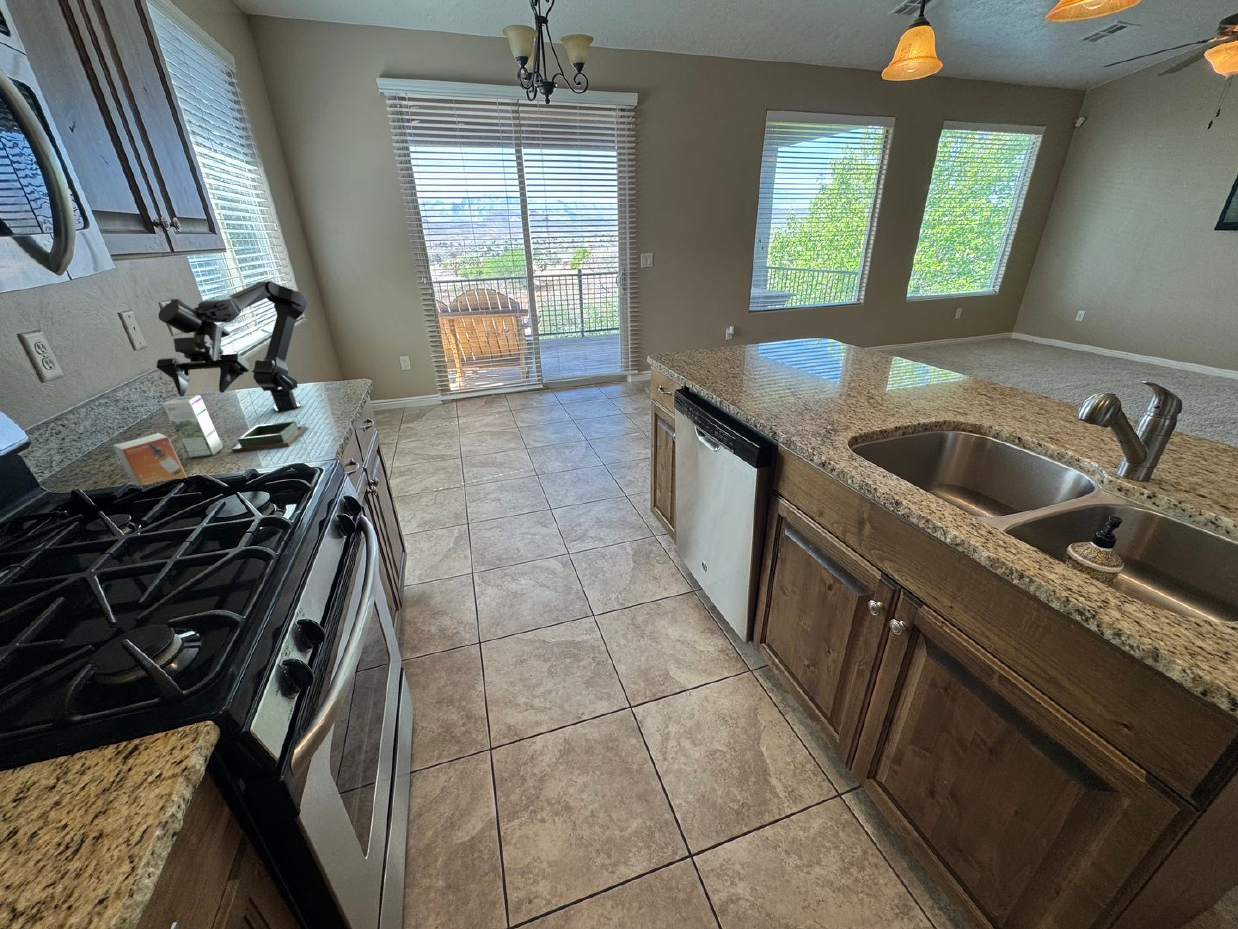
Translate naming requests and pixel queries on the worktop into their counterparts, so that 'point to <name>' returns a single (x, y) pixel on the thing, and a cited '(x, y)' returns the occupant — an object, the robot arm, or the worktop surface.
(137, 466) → the small box
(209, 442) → the syrup box
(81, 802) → the worktop surface
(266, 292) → the robot arm
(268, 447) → the pad
